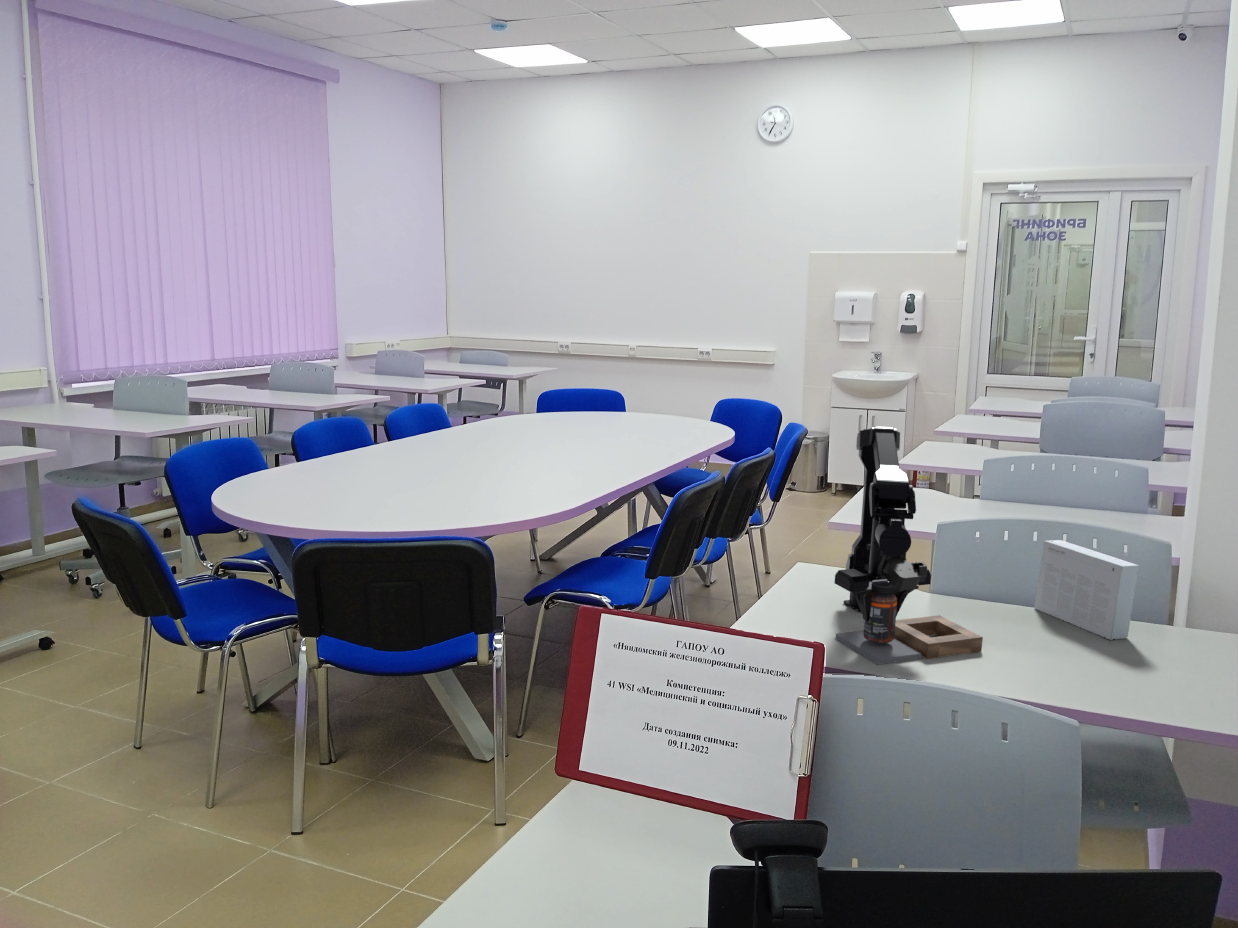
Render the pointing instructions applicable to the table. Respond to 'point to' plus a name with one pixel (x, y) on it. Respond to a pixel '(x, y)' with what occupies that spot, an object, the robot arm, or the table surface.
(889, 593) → the supplement bottle
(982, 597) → the table surface
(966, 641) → the collar block
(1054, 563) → the skincare box
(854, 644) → the rubber mat
